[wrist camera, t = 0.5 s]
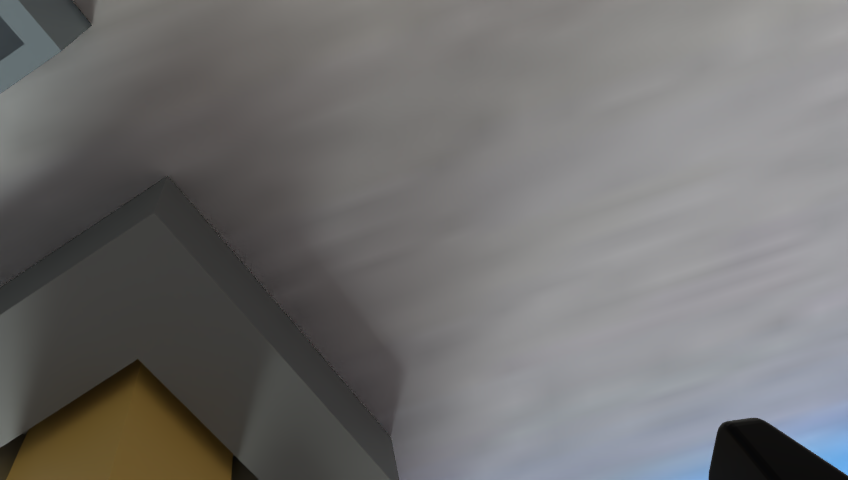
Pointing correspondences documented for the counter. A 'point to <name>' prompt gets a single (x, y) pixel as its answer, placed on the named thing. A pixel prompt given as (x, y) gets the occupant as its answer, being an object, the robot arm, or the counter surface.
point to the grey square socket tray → (180, 346)
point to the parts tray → (35, 34)
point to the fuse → (123, 437)
